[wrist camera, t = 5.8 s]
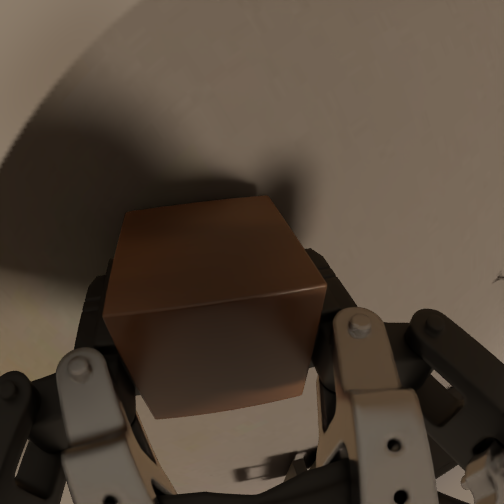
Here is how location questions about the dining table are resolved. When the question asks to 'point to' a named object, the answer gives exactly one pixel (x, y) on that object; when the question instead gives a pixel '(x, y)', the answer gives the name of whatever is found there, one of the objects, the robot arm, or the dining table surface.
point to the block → (213, 306)
